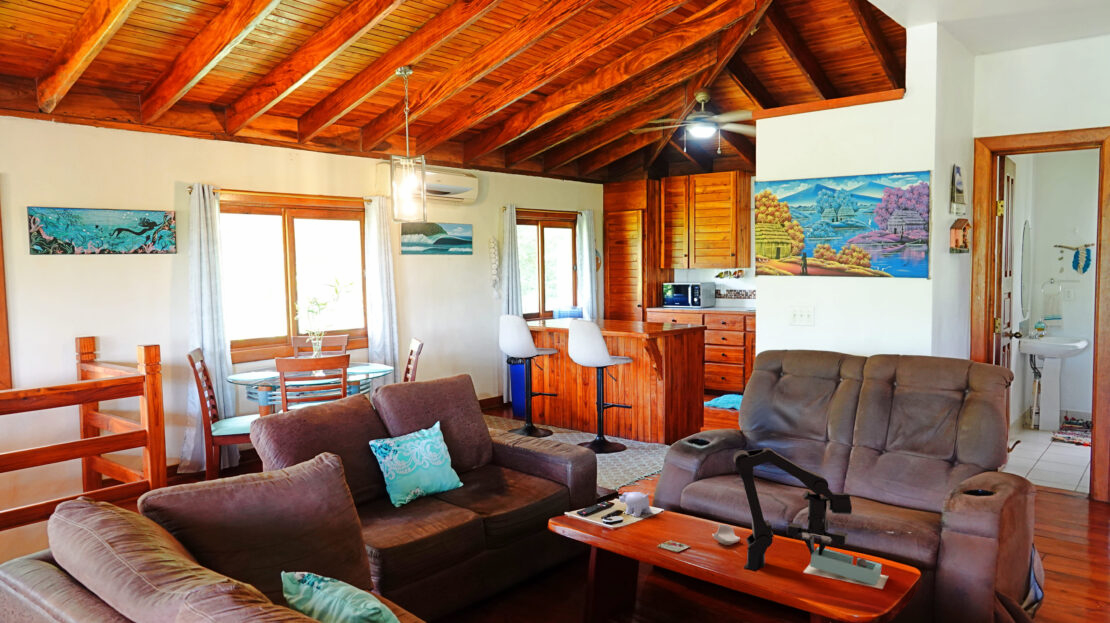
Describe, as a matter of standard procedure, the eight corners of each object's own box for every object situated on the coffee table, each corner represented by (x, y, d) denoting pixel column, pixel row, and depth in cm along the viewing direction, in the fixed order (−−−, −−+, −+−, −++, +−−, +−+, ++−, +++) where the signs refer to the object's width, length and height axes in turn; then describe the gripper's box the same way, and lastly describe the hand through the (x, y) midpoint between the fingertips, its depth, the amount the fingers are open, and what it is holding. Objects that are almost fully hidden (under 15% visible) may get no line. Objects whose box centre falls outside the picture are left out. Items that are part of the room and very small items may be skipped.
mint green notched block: (880, 576, 238) (881, 564, 238) (875, 585, 231) (876, 573, 230) (816, 558, 249) (818, 546, 249) (810, 566, 241) (811, 554, 241)
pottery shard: (718, 548, 266) (718, 535, 266) (703, 538, 276) (703, 525, 276) (744, 545, 269) (744, 532, 269) (728, 536, 279) (728, 523, 279)
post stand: (888, 579, 238) (888, 557, 238) (882, 591, 228) (882, 569, 228) (812, 563, 251) (812, 543, 251) (803, 575, 241) (803, 554, 241)
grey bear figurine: (628, 505, 318) (629, 483, 317) (656, 513, 307) (657, 490, 307) (612, 511, 310) (612, 488, 310) (640, 519, 299) (640, 495, 299)
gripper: (852, 511, 246) (851, 557, 246) (795, 502, 256) (794, 546, 257) (845, 520, 237) (844, 568, 237) (786, 510, 247) (785, 556, 247)
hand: (816, 559), depth 245 cm, fingers closed on mint green notched block, 2 cm apart
